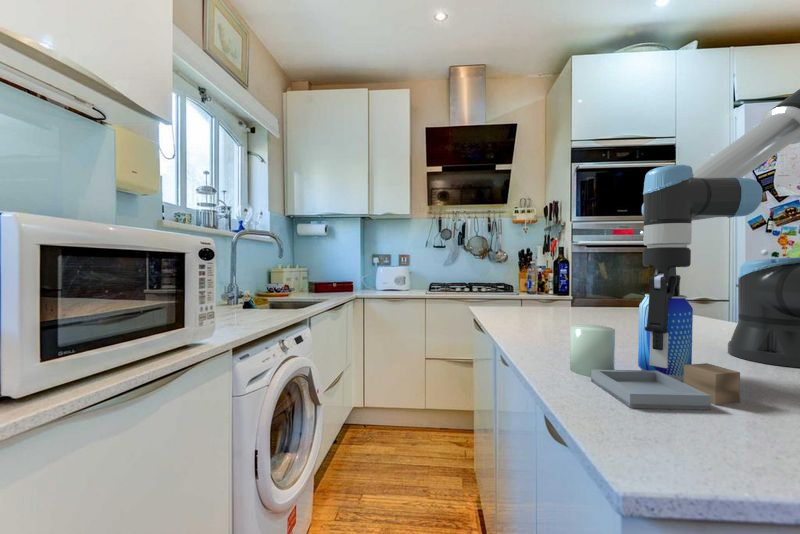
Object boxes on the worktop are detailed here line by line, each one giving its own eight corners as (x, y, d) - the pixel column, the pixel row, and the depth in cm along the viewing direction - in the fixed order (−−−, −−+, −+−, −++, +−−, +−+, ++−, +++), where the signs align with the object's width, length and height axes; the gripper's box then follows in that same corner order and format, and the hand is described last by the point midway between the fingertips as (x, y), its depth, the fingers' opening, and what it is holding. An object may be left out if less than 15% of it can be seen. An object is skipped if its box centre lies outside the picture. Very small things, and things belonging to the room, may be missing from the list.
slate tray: (656, 382, 65) (657, 370, 65) (710, 409, 53) (711, 395, 53) (591, 381, 66) (591, 369, 66) (629, 407, 54) (630, 393, 54)
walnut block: (706, 391, 61) (706, 363, 61) (739, 403, 56) (740, 372, 56) (683, 393, 60) (683, 364, 60) (715, 405, 55) (715, 374, 55)
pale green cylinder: (601, 365, 76) (601, 324, 75) (623, 378, 68) (623, 332, 67) (563, 365, 76) (564, 324, 76) (580, 377, 68) (581, 331, 68)
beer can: (672, 369, 73) (673, 293, 73) (702, 384, 65) (704, 297, 64) (629, 368, 74) (630, 292, 73) (654, 382, 65) (655, 297, 65)
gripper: (656, 248, 79) (654, 349, 79) (628, 245, 64) (625, 368, 65) (699, 247, 73) (697, 356, 73) (679, 244, 59) (676, 378, 59)
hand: (663, 361), depth 69 cm, fingers closed on beer can, 8 cm apart
